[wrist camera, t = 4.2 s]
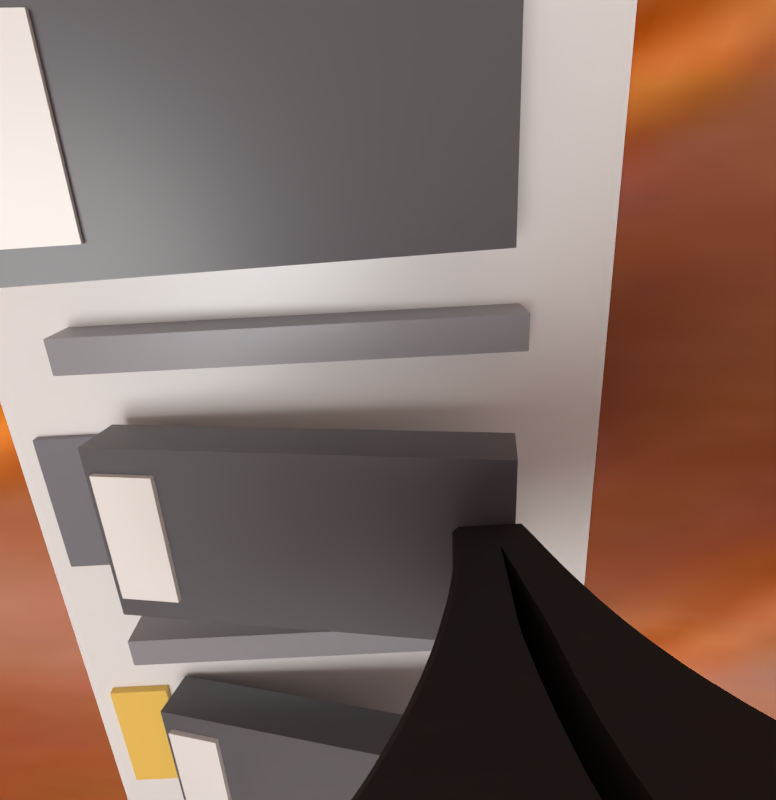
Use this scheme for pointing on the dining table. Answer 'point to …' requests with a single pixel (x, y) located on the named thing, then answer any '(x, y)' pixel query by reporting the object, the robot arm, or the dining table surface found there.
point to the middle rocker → (294, 521)
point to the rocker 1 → (253, 133)
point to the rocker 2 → (270, 743)
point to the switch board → (337, 387)
